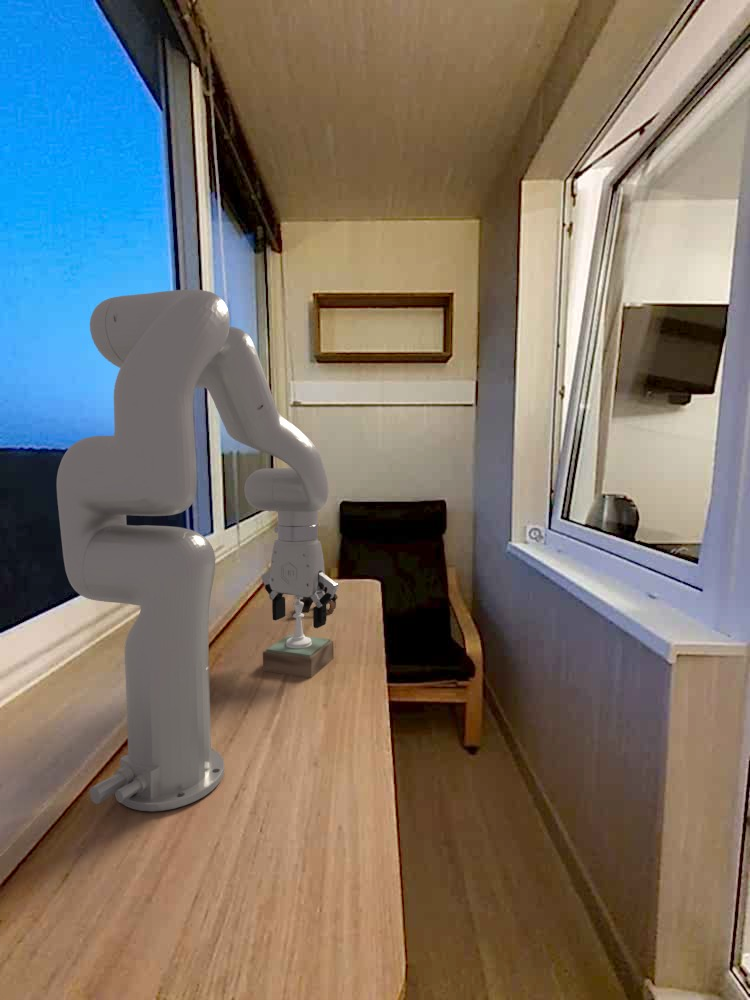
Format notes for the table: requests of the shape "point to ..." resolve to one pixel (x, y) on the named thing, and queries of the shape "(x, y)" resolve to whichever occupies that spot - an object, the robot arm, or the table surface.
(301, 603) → the chess piece
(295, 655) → the pedestal
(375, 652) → the table surface
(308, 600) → the brown curved open ring
